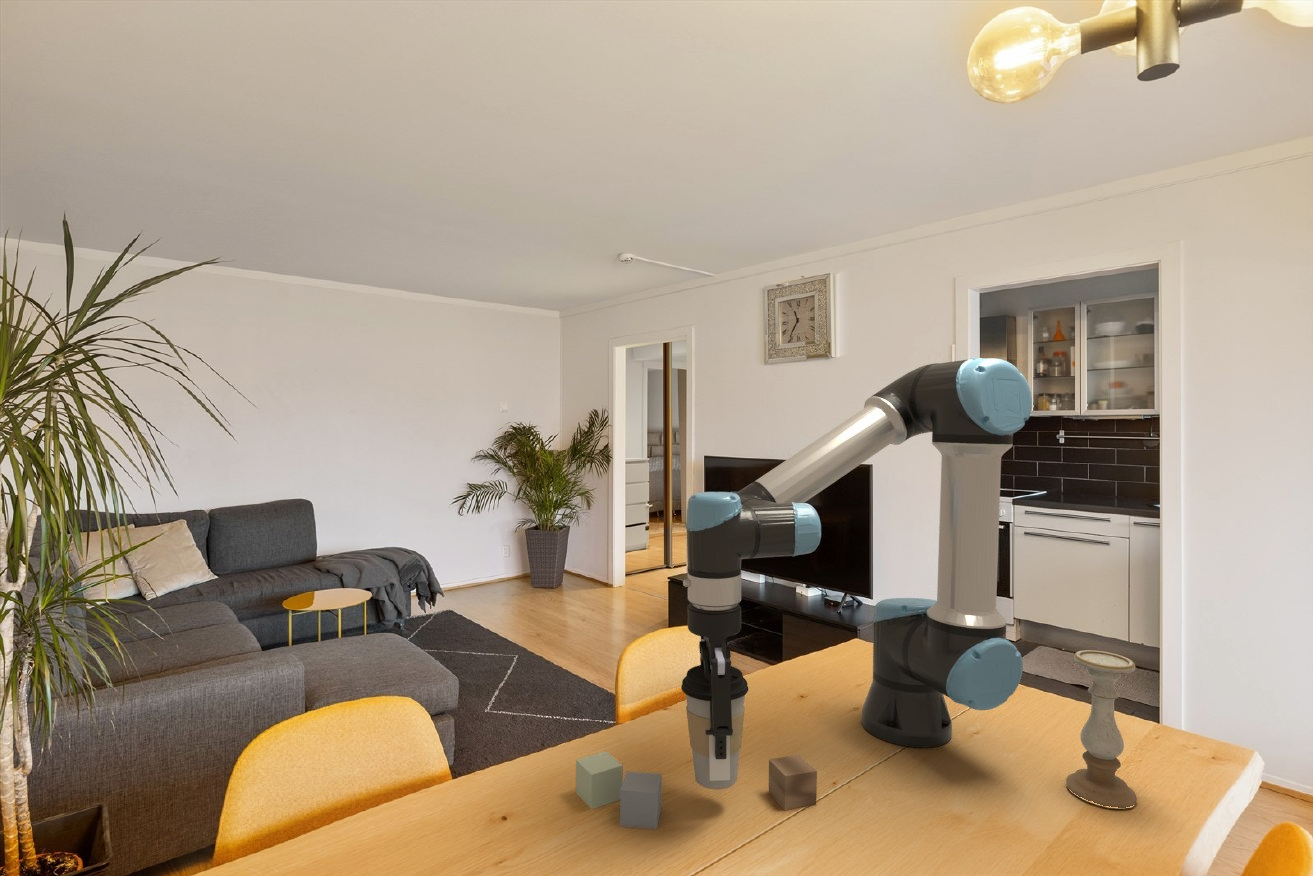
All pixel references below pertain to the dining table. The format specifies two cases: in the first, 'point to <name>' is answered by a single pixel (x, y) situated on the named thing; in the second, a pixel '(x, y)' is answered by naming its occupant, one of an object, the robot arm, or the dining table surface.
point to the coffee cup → (700, 721)
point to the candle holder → (1102, 734)
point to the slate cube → (640, 800)
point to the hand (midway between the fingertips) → (715, 762)
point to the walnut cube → (792, 782)
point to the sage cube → (599, 779)
